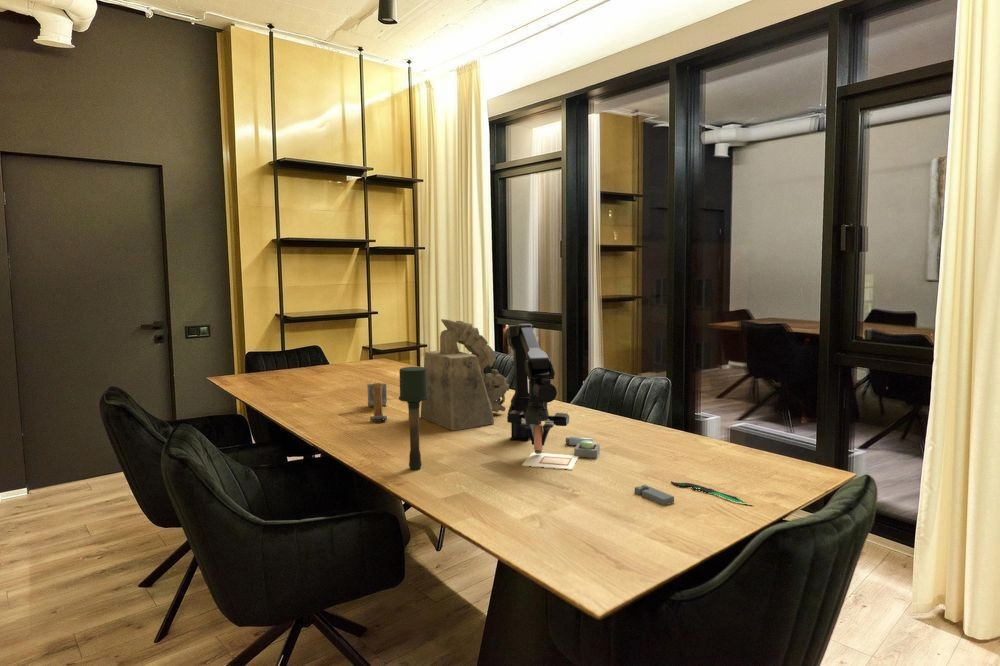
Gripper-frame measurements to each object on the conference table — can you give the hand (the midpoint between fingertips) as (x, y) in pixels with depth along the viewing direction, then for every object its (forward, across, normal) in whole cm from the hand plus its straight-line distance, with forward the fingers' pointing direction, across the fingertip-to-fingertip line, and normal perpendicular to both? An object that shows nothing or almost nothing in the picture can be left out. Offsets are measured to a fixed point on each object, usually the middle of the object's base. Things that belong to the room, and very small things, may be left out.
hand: (538, 445), depth 192 cm
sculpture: (+4, -37, +43) cm, 57 cm away
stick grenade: (+4, -32, -21) cm, 39 cm away
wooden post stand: (+4, -77, +40) cm, 87 cm away
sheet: (+4, +5, -4) cm, 7 cm away
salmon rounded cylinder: (+2, 0, 0) cm, 2 cm away
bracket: (+4, +36, -26) cm, 45 cm away
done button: (+2, +14, +6) cm, 16 cm away
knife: (+4, +50, -20) cm, 54 cm away
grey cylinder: (+2, +10, +14) cm, 18 cm away
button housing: (+4, +14, +6) cm, 16 cm away
